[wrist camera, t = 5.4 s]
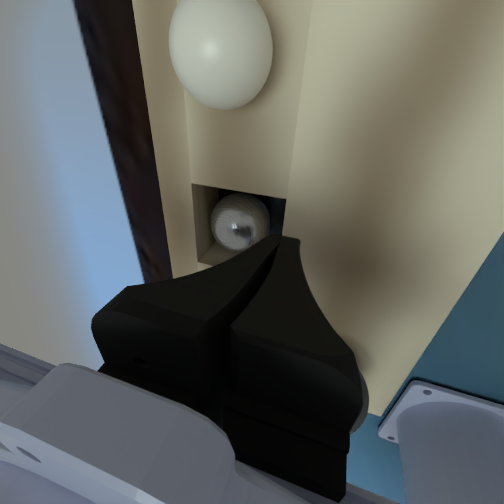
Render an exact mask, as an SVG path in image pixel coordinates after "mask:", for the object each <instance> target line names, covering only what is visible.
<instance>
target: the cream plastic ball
mask: <svg viewBox="0 0 504 504" xmlns="http://www.w3.org/2000/svg"><path fill="white" fill-rule="evenodd" d="M169 51H170V57H171V61H172V65H173V68H174V70H175V73H176V75H177V77H178V79H179V81H180V82H181V84H182V85H183V87H184V88H185V90H186V91H187V92H188V93H189V94H190V95H191V96H192V97H193V98H194V99H196V100H197V101H198V102H200V103H201V104H203V105H205V106H207V107H210V108H213V109H218V110H231V109H235V108H238V107H241V106H243V105H245V104H247V103H248V102H250V101H251V100H252V99H253V98H254V97H255V96H256V95H257V94H258V93H259V91H260V90H261V89H262V87H263V85H264V84H265V82H266V80H267V77H268V74H269V72H270V68H271V63H272V55H273V44H272V36H271V30H270V27H269V23H268V20H267V18H266V15H265V13H264V11H263V10H262V8H261V6H260V5H259V3H258V2H257V1H256V0H180V1H179V2H178V4H177V6H176V8H175V10H174V13H173V15H172V19H171V23H170V28H169Z"/></svg>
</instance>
